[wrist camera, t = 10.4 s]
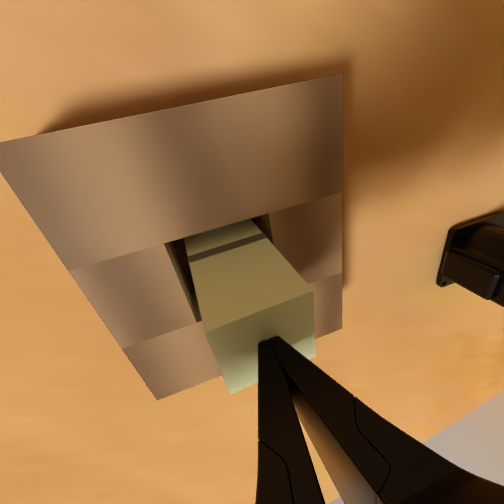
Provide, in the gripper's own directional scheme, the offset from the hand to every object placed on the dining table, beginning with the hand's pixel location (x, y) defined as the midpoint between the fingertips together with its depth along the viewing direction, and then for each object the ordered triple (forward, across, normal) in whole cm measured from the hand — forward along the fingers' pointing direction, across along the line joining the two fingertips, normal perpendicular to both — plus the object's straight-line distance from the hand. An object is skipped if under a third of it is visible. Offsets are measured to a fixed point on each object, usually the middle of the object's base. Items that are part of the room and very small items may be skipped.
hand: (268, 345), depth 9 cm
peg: (+8, 0, 0) cm, 8 cm away
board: (+8, 0, 0) cm, 8 cm away
